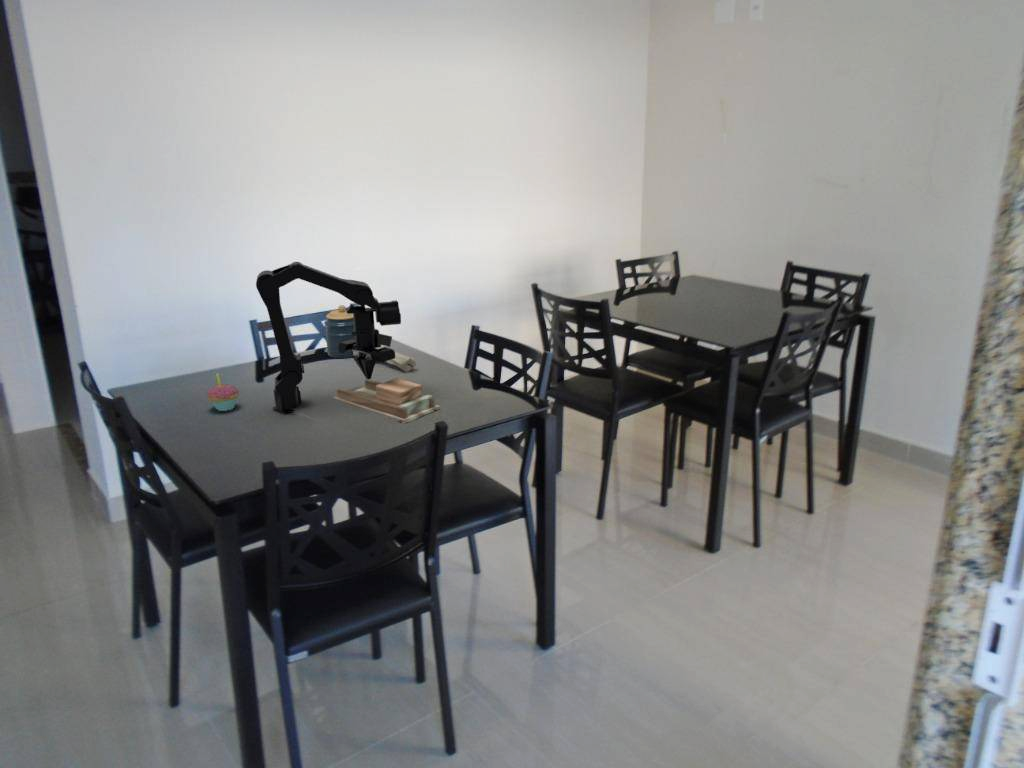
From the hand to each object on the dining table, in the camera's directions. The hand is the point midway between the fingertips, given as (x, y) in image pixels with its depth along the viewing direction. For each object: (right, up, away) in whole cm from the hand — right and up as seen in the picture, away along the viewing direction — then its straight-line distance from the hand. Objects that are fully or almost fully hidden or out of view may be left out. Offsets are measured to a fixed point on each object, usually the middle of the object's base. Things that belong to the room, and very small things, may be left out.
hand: (368, 378), depth 217 cm
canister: (-17, +9, +48) cm, 52 cm away
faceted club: (+1, +4, +34) cm, 34 cm away
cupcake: (-41, -9, -3) cm, 42 cm away
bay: (+5, -8, -2) cm, 9 cm away
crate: (+10, -8, -6) cm, 14 cm away
